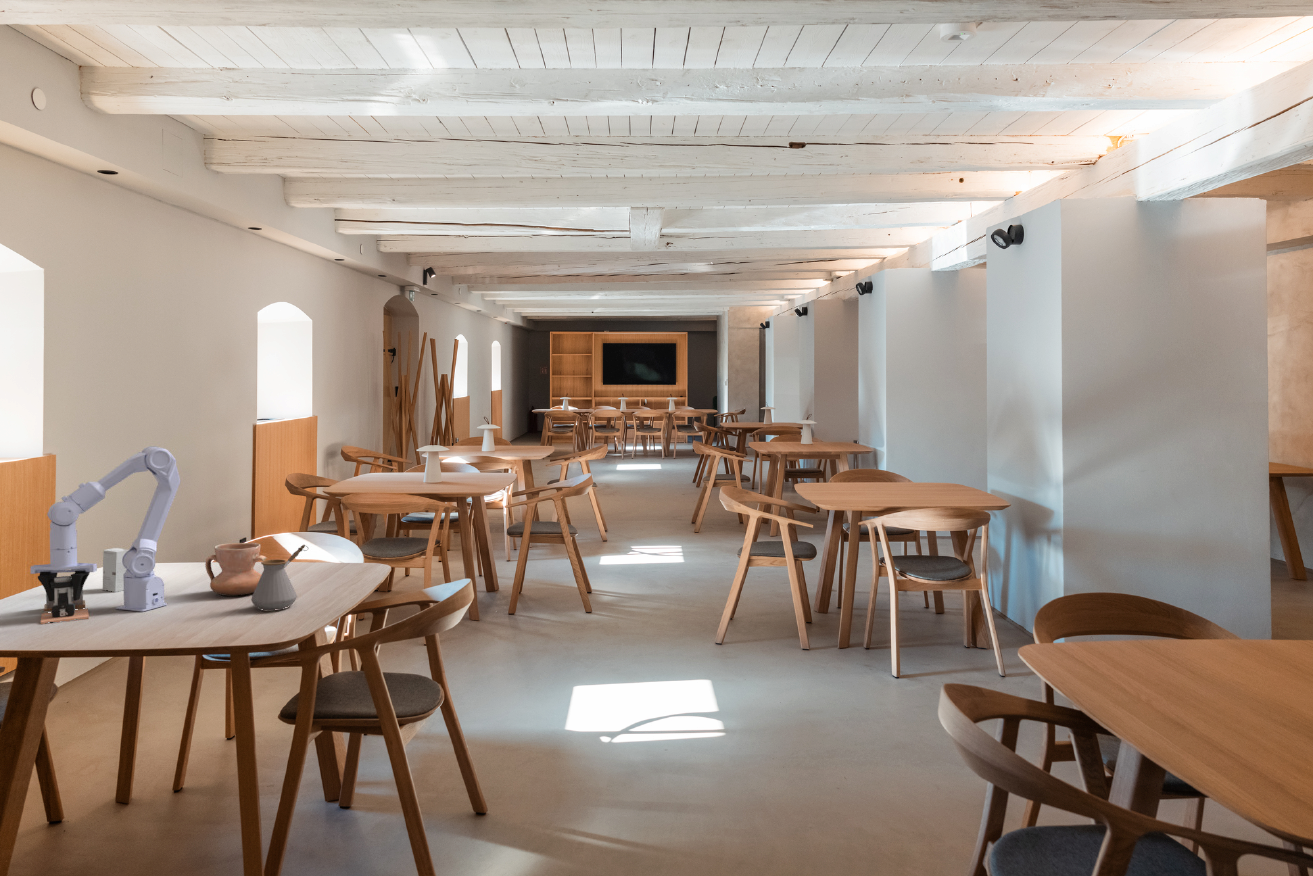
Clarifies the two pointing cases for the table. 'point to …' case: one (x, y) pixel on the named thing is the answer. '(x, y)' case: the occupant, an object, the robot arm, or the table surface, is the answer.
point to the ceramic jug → (235, 568)
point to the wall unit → (78, 603)
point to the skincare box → (113, 569)
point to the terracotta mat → (78, 615)
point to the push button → (62, 597)
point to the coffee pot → (275, 585)
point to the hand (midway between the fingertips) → (64, 600)
